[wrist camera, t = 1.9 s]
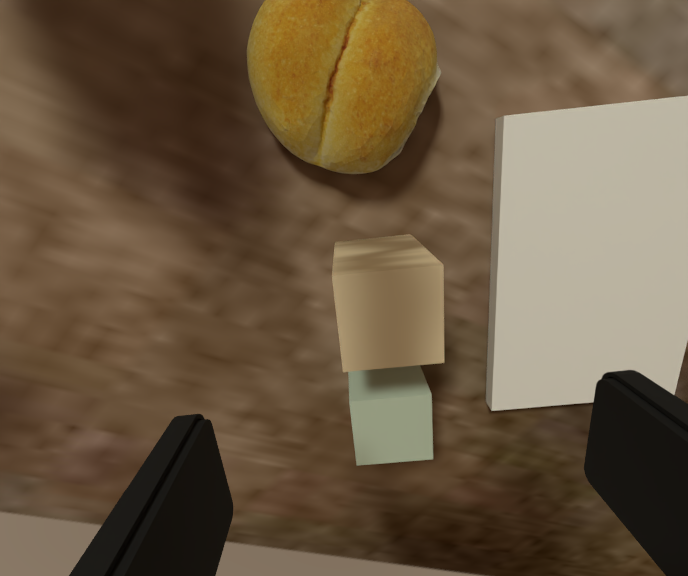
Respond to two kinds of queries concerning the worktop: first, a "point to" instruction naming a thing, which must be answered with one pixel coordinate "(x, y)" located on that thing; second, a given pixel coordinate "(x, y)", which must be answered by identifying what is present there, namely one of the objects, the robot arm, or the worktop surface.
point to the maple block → (388, 303)
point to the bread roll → (341, 78)
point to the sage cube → (391, 415)
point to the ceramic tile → (587, 251)
